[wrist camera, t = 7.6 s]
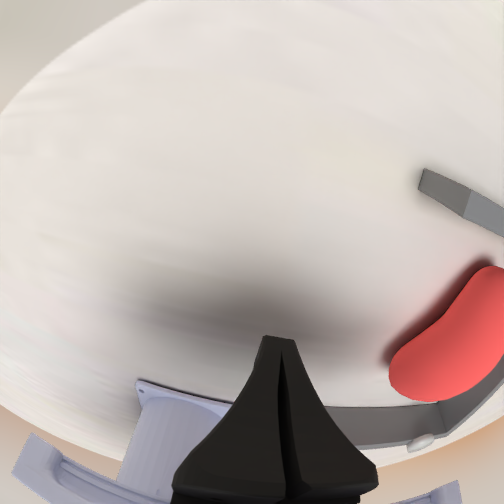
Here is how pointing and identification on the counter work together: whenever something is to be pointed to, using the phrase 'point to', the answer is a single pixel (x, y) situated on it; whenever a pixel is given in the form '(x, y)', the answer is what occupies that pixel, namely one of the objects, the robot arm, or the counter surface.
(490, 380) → the gray u-shaped bracket
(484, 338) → the red kidney bean shape
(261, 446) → the robot arm
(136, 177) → the counter surface
